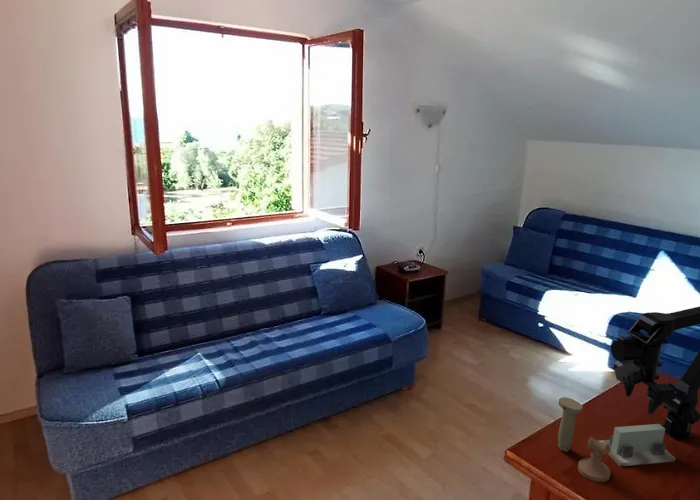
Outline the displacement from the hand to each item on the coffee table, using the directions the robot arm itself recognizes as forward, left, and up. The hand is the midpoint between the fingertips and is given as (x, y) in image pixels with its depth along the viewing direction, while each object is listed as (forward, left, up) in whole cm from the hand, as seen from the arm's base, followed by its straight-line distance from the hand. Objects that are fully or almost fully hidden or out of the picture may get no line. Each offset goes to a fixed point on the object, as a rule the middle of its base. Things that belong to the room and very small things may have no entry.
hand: (638, 404), depth 153 cm
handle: (+24, +2, -12) cm, 26 cm away
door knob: (+21, +12, -12) cm, 27 cm away
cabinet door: (+4, +6, -10) cm, 13 cm away
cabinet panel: (+4, +6, -11) cm, 13 cm away
